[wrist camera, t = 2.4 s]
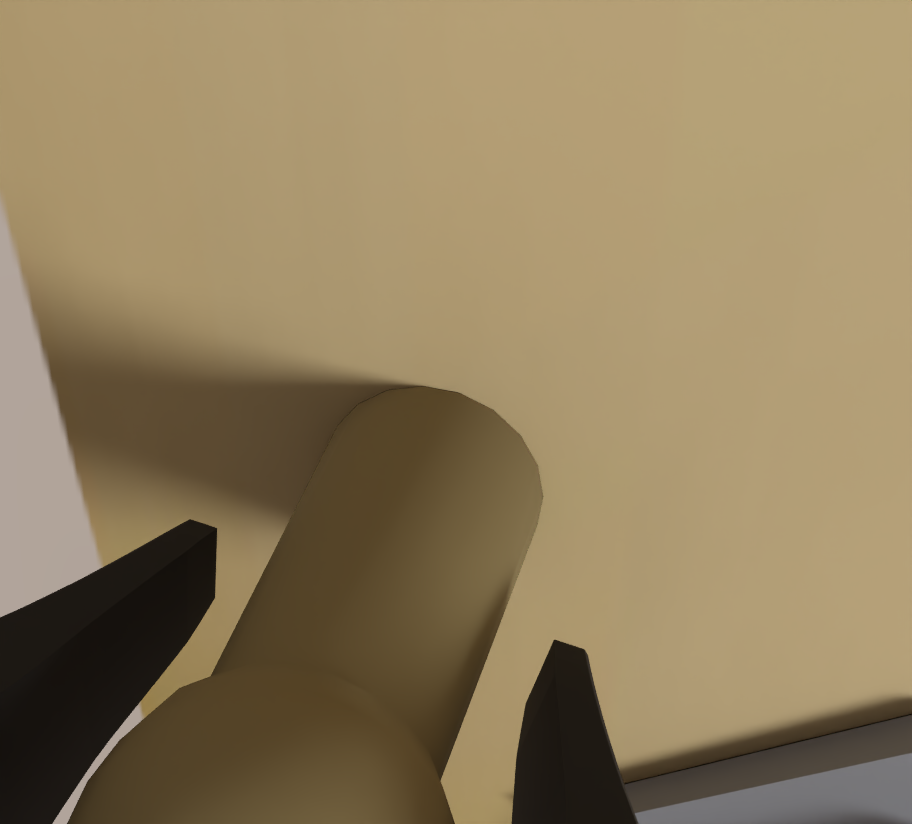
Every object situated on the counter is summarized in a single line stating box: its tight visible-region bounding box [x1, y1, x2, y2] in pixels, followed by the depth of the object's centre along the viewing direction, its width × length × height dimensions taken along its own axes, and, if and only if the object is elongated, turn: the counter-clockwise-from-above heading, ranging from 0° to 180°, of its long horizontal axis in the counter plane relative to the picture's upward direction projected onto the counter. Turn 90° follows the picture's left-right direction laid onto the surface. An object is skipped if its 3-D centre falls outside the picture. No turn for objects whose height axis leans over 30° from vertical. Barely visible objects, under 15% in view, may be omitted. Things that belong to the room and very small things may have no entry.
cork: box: [67, 386, 543, 824], centre depth 12 cm, size 6×6×11 cm
